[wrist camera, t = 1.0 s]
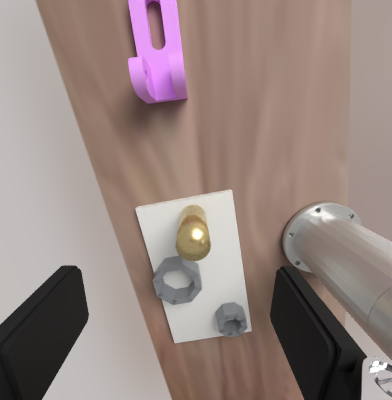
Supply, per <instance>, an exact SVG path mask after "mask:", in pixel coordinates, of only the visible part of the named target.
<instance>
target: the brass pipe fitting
mask: <svg viewBox="0 0 392 400" xmlns="http://www.w3.org/2000/svg"><path fill="white" fill-rule="evenodd" d="M210 249H211V242H210V236H209V230H208V224H207V218H206V213H205V211H204V210H203V208H201V207H200V206H198V205H189V206H187V207H185V208H184V209H183V210H182V212H181V215H180V222H179V228H178V234H177V240H176V250H177V253H178V254H179V255H180V257H182V258H183V259H185V260H187V261H199V260H202V259H203V258H205V257H206V256H207V255H208V254H209V252H210Z"/></svg>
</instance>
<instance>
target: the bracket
mask: <svg viewBox="0 0 392 400" xmlns="http://www.w3.org/2000/svg"><path fill="white" fill-rule="evenodd" d="M152 1H156V2H158V3H159V4H160V5H161V11H162V18H163V25H164V33H165V40H166V43H165V46H164V48H163V49H161V50H155V49H154V48H153V47H152V40H151V34H150V27H149V21H148V14H147V6H148V4H149V3H150V2H152ZM129 10H130V15H131V21H132V27H133V33H134V39H135V44H136V50H137V56H138V57H133V58H129V72H130V77H131V81H132V84H133V87H134V90H135V92H136V94H137V96H138V97H139V98H141V99H142V100H143V101H145V102H146V103H147V104H150V103H158V102H166V101H174V100H181V99H188V96H187V88H186V79H185V71H184V62H183V54H182V45H181V37H180V28H179V20H178V11H177V3H176V0H129Z"/></svg>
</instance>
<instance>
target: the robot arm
mask: <svg viewBox="0 0 392 400" xmlns="http://www.w3.org/2000/svg"><path fill="white" fill-rule="evenodd" d="M282 243H283V250H284V253H285V255H286V257H287V258H288V260H289V261H290V262H291V263H292V264H293V265H294V266H295V267H297V268H298V269H300V270H302V271H305V272H309V273H313V274H314V275H315V276H316V277H317V278H318V280H319V281H320V282H321V283H322V284H323V285H324V286H325V287H326V289H327V290H328V291H329V292H330V293H331V294H332V295H333V296H334V297H335V299H336V300H337V301H338V302H339V303H340V304H341V305H342V306H343V308H344V309H345V310H346V311H347V312H348V313H349V314H350V315H351V317H352V318H353V319H354V320H355V321H356V322H357V323H358V324H359V325H360V327H362V329H363V330H364V331H365V332H366V333H367V334H368V336H369V337H370V338H371V339H372V340H373V341H374V342H375V343H376V344H377V345H378V346H379V348H380V349H381V350H382V351H383V352H384V353H385V354H386V355H387V356H388V357H389V358H390V359H391V360H392V242H391V241H389V240H387V239H385V238H384V237H381V236H380V235H378V234H376V233H374V232H372V231H370V230H368V229H366V228H364V227H362V225H361V222H360V219H359V218H358V216H357V215H356V213H354V212H353V211H352V210H351V209H349V208H348V207H346V206H344V205H341V204H339V203H334V202H321V203H316V204H313V205H310V206H308V207H306V208H304V209H302V210H301V211H300V212H298V213H297V214H296V215H295V216H294V217H293V218H292V219H291V220H290V222H289V223H288V225H287V226H286V229H285V231H284V234H283V239H282ZM295 267H293V266H282V267H281V268H280V270H277V272H276V279H275V285H274V292H273V299H272V306H271V312H270V318H271V322H272V325H273V327H274V329H275V332H276V334H277V336H278V339H279V341H280V343H281V346H282V348H283V350H284V353H285V355H286V357H287V360H288V362H289V364H290V367H291V369H292V371H293V374H294V376H295V378H296V381H297V383H298V385H299V388H300V390H301V393H302V395H303V397H304V400H392V362H391V361H389V360H386V359H384V358H381V357H376V356H372V357H367V356H366V355H365V353H364V352H363V351H362V350H361V349H360V347H359V346H358V345H357V343H356V342H355V341H354V340H353V338H352V337H351V336H350V335H349V334H348V332H347V331H346V330H345V328H344V327H343V326H342V325H341V323H340V322H339V321H338V320H337V318H336V317H335V316H334V315H333V313H332V312H331V311H330V310H329V308H328V307H327V306H326V305H325V303H324V302H323V301H322V300H321V299H320V298H319V297H318V295H317V294H316V293H315V292H314V290H313V289H312V288H311V286H310V285H309V284H308V283H307V281H306V280H305V279H304V278H303V276H302V275H301V274H300V273H299V271H298V270H297V269H296V268H295ZM88 315H89V313H88V307H87V302H86V296H85V290H84V284H83V279H82V273H81V270H80V269H78V268H77V266H61V267H60V268H59V269H58V270H57V271H56V272H55V273H54V274H53V275H52V276H51V277H50V278H48V279H47V280H46V281H45V282H44V283H43V284H42V285H41V286H40V287H39V288H38V289H37V290H36V291H35V292H34V293H33V294H32V295H31V296H30V297H29V298H28V299H27V300H26V301H25V302H23V304H21V306H19V307H18V308H17V309H16V310H15V311H14V312H13V313H12V314H11V315H10V316H9V317H8V318H7V319H6V320H5V321H4V322H3V323H2V324H1V325H0V400H42V398H43V397H44V395H45V393H46V392H47V390H48V388H49V386H50V385H51V383H52V381H53V380H54V378H55V376H56V374H57V373H58V371H59V369H60V368H61V366H62V364H63V362H64V361H65V359H66V357H67V356H68V354H69V352H70V350H71V349H72V347H73V345H74V344H75V342H76V340H77V338H78V337H79V335H80V333H81V332H82V330H83V328H84V326H85V324H86V323H87V321H88Z"/></svg>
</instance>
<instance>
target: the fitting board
mask: <svg viewBox="0 0 392 400" xmlns="http://www.w3.org/2000/svg"><path fill="white" fill-rule="evenodd" d="M189 205H198V206H200V207H201V208H203V210H204V211H205V213H206V218H207V224H208V230H209V236H210V242H211V249H210V252H209V254H208V255H207V256H206V257H205V258H203V259H202V260H199V261H187V260H185V259H183V258H182V257H180V255H179V254H178V253H177V250H176V240H177V234H178V228H179V222H180V215H181V212H182V210H183V209H184V208H185V207H187V206H189ZM136 213H137V216H138V220H139V223H140V227H141V230H142V233H143V237H144V240H145V244H146V247H147V251H148V254H149V257H150V261H151V264H152V268H153V271H154V277H153V284H154V288H155V291H156V294H157V297H159V298H161V299H162V302H163V305H164V309H165V312H166V316H167V319H168V322H169V326H170V329H171V333H172V336H173V340H174V343H180V342H186V341H193V340H199V339H206V338H212V337H218V336H227V337H228V338H229V337H235V336H240V335H241V334H242V333H244V332H250V331H252V329H251V322H250V315H249V308H248V301H247V294H246V287H245V280H244V273H243V266H242V259H241V252H240V244H239V237H238V230H237V223H236V216H235V209H234V202H233V195H232V190H231V189H230V190H225V191H219V192H214V193H209V194H203V195H198V196H192V197H187V198H182V199H176V200H171V201H165V202H160V203H155V204H149V205H144V206H138V207H136Z"/></svg>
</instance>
